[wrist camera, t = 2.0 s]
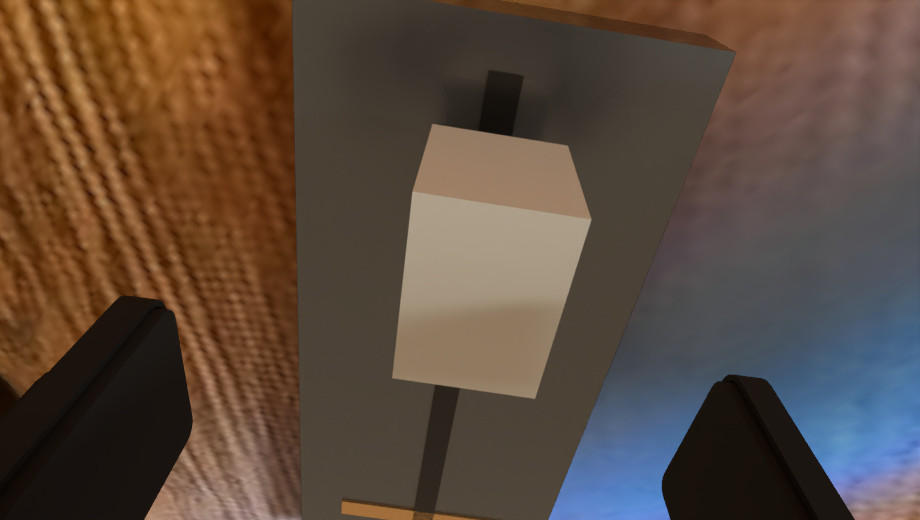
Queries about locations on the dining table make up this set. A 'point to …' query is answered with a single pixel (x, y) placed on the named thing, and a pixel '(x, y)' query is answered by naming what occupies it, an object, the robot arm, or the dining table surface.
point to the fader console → (387, 221)
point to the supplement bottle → (6, 398)
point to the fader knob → (488, 261)
